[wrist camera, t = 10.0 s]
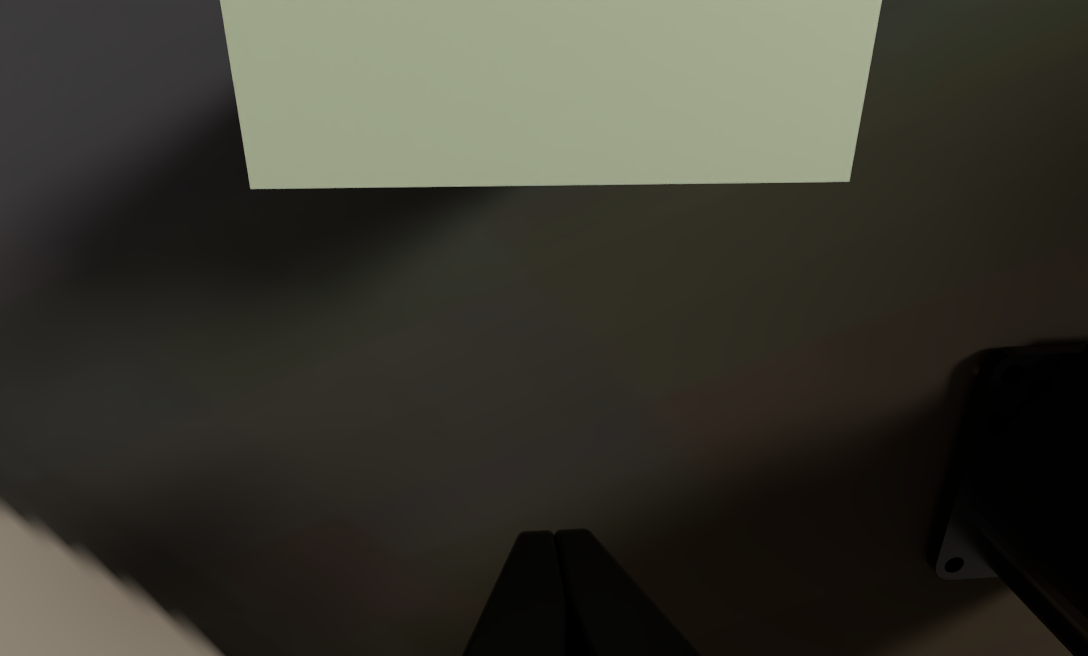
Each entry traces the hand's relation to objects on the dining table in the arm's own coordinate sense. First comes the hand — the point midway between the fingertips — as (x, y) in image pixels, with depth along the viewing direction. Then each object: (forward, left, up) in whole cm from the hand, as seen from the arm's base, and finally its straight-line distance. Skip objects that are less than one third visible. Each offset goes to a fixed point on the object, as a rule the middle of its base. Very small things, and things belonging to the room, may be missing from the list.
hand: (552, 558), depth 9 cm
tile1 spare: (+6, 0, -7) cm, 9 cm away
